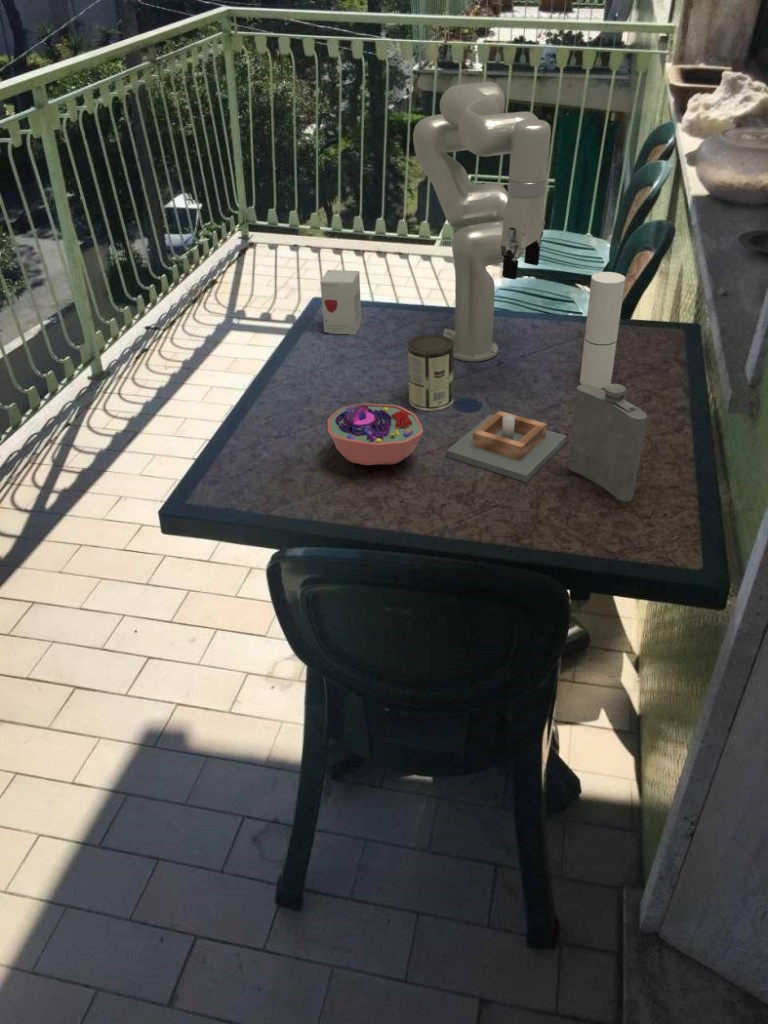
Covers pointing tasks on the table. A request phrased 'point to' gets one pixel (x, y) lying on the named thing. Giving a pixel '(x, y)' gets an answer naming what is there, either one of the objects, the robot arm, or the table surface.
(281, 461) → the table surface
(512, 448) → the ring
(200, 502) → the table surface
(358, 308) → the supplement box
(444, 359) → the coffee can
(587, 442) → the hip flask
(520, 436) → the stand
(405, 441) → the cell model
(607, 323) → the cylindrical container
